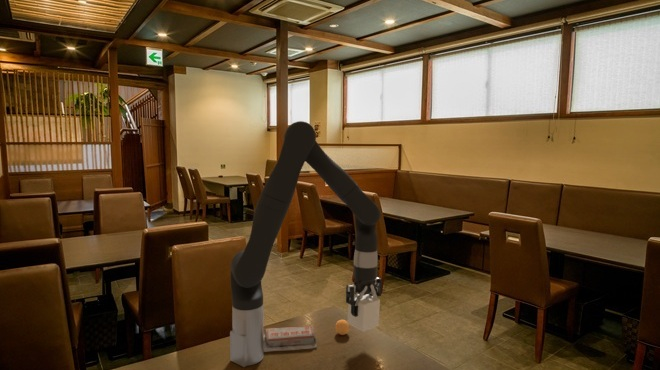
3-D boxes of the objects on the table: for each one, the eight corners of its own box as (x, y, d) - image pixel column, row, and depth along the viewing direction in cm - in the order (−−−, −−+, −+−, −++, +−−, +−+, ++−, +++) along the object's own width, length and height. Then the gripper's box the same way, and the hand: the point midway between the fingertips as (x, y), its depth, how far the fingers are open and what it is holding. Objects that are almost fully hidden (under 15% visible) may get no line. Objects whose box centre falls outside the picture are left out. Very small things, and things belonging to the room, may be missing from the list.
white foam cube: (378, 325, 127) (380, 299, 126) (362, 331, 123) (363, 304, 122) (363, 317, 133) (364, 292, 132) (347, 323, 128) (348, 297, 127)
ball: (344, 339, 133) (344, 325, 133) (332, 334, 136) (332, 320, 136) (352, 333, 137) (352, 319, 137) (340, 329, 140) (340, 315, 140)
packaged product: (313, 321, 136) (317, 335, 127) (313, 334, 137) (317, 350, 127) (261, 324, 134) (260, 339, 124) (261, 338, 134) (260, 353, 125)
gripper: (372, 256, 133) (370, 303, 135) (340, 264, 124) (339, 314, 126) (389, 262, 127) (387, 311, 129) (357, 270, 118) (355, 323, 120)
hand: (363, 312), depth 127 cm, fingers closed on white foam cube, 7 cm apart
